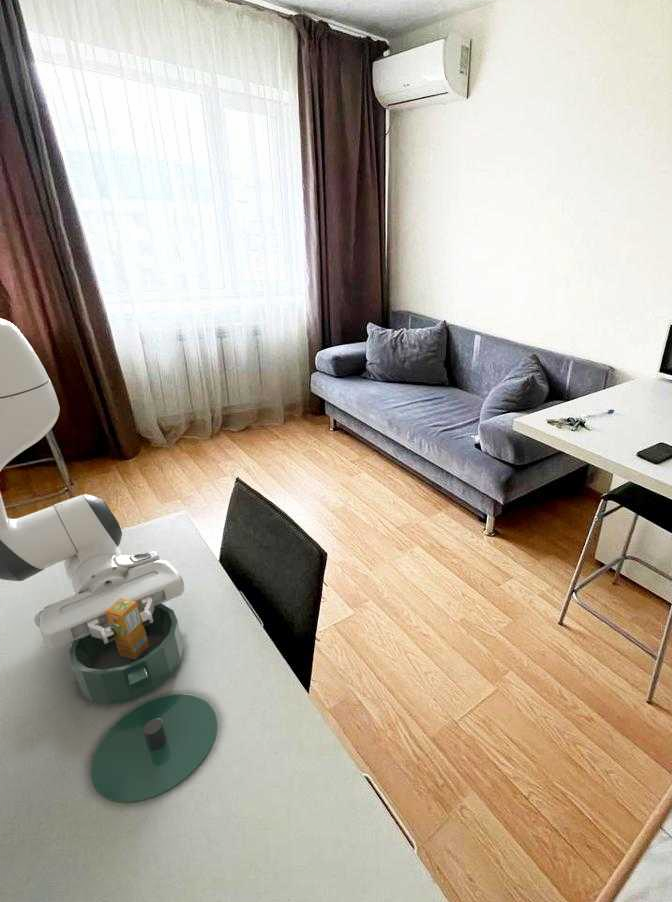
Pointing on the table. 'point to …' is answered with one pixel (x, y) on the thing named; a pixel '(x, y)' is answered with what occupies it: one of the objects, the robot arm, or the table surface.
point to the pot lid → (154, 748)
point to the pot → (133, 676)
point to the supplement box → (127, 628)
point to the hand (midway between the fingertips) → (129, 629)
